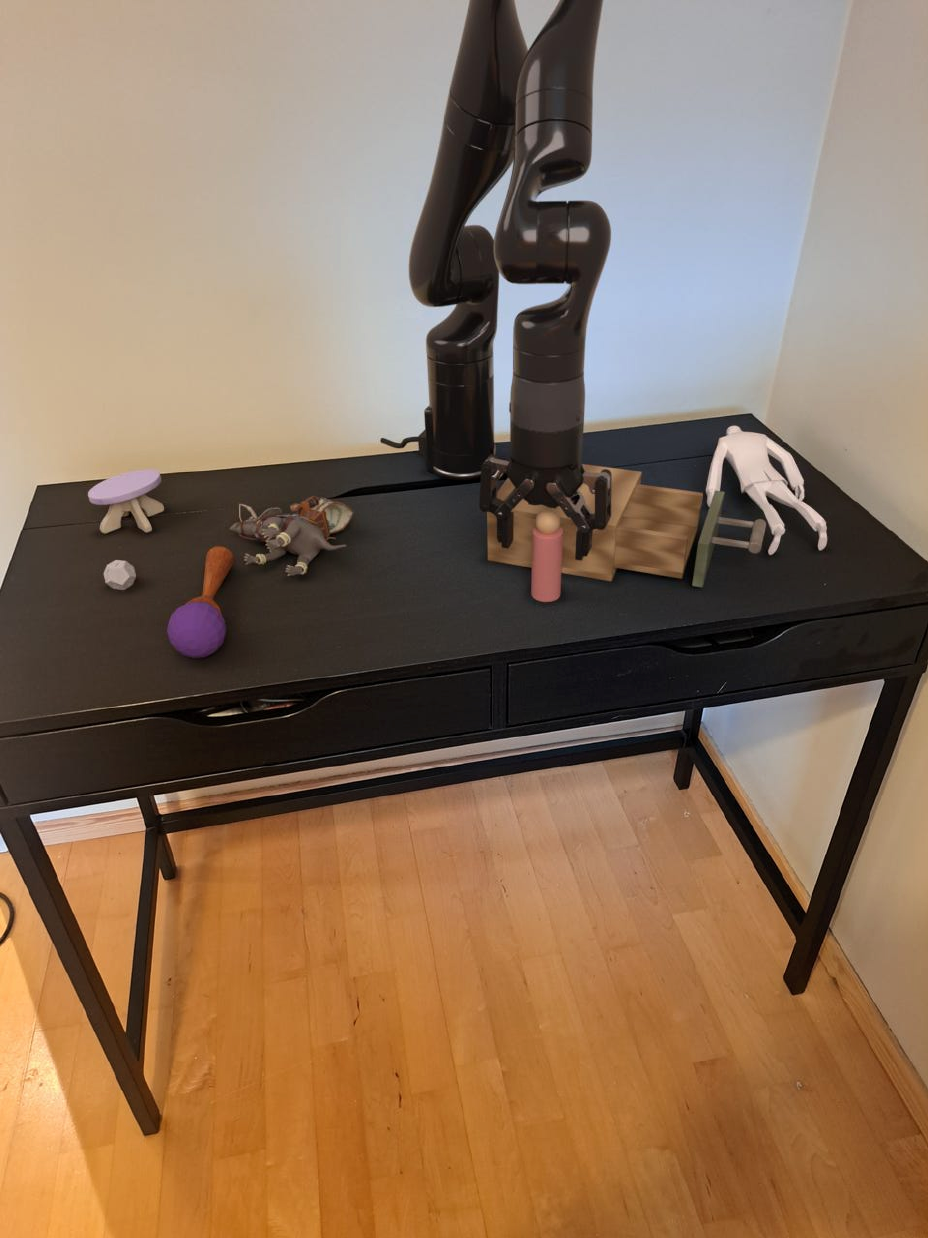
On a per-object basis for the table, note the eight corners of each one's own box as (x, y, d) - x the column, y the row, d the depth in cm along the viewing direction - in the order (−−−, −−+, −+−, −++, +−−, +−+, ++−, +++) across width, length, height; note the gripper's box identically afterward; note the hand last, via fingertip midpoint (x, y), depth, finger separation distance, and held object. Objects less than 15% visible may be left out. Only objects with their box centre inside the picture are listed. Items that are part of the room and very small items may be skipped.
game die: (101, 592, 108) (95, 571, 106) (118, 575, 111) (111, 555, 109) (128, 595, 107) (121, 573, 105) (143, 578, 110) (138, 557, 108)
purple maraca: (245, 538, 109) (222, 622, 92) (244, 582, 112) (221, 670, 95) (195, 534, 108) (162, 617, 91) (195, 577, 111) (162, 666, 94)
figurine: (191, 521, 110) (270, 467, 123) (203, 564, 114) (279, 507, 126) (327, 543, 103) (397, 483, 115) (336, 588, 106) (403, 525, 118)
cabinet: (636, 524, 118) (641, 471, 113) (611, 581, 106) (615, 525, 102) (523, 507, 122) (523, 456, 118) (487, 560, 111) (486, 506, 107)
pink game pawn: (536, 584, 106) (537, 501, 100) (563, 589, 105) (567, 505, 99) (527, 599, 104) (528, 515, 98) (555, 604, 103) (559, 520, 97)
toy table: (159, 498, 127) (150, 461, 124) (180, 523, 121) (171, 485, 118) (89, 518, 123) (78, 480, 120) (107, 545, 117) (95, 506, 114)
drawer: (763, 539, 112) (771, 497, 108) (751, 596, 101) (760, 552, 98) (605, 516, 118) (608, 475, 114) (579, 567, 108) (582, 524, 104)
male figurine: (844, 560, 112) (770, 450, 130) (858, 521, 108) (780, 412, 126) (739, 569, 111) (679, 457, 129) (749, 530, 107) (686, 420, 125)
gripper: (624, 408, 92) (613, 544, 101) (493, 393, 96) (494, 525, 106) (607, 436, 86) (597, 578, 96) (468, 419, 91) (472, 557, 100)
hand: (543, 550), depth 101 cm, fingers open, 8 cm apart
